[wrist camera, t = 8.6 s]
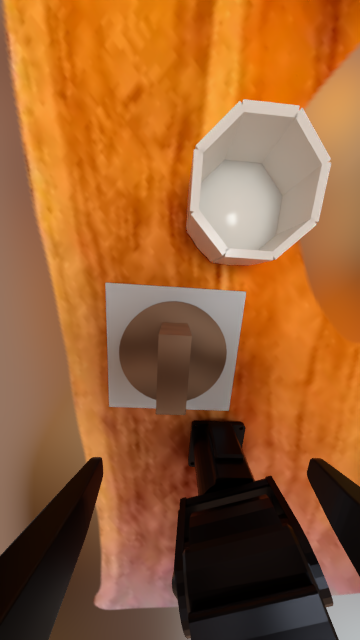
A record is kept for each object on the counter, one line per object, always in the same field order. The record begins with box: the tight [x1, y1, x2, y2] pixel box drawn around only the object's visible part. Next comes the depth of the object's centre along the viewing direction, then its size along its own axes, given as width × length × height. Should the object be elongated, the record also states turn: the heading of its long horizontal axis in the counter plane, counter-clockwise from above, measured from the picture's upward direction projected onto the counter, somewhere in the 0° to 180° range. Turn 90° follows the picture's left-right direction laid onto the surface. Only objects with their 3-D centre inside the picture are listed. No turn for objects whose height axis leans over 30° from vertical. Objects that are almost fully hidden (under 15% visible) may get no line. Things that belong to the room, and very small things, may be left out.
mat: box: [106, 283, 246, 411], centre depth 19 cm, size 14×14×1 cm
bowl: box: [186, 99, 331, 266], centre depth 14 cm, size 9×9×5 cm
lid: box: [119, 301, 227, 415], centre depth 16 cm, size 11×11×5 cm
